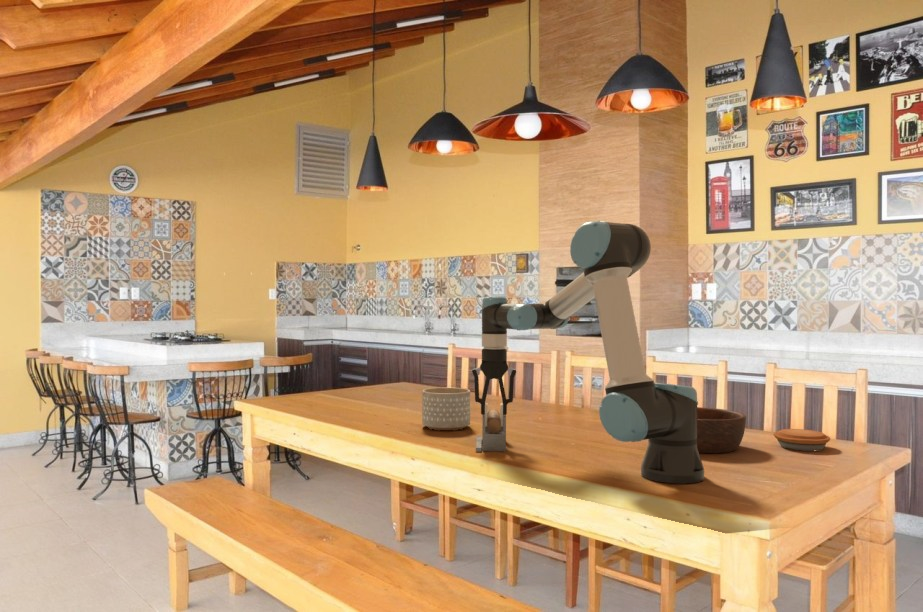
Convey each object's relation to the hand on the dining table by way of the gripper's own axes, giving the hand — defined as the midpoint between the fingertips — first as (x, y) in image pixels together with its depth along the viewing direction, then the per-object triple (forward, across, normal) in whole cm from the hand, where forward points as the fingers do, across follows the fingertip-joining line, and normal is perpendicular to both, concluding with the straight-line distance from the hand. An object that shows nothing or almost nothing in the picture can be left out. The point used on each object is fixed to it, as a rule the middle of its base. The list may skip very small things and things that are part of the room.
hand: (493, 425), depth 217 cm
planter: (+6, +16, -30) cm, 34 cm away
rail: (0, +1, 0) cm, 1 cm away
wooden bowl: (+6, -62, -1) cm, 62 cm away
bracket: (+6, 0, 0) cm, 6 cm away
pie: (+6, -92, -2) cm, 92 cm away
